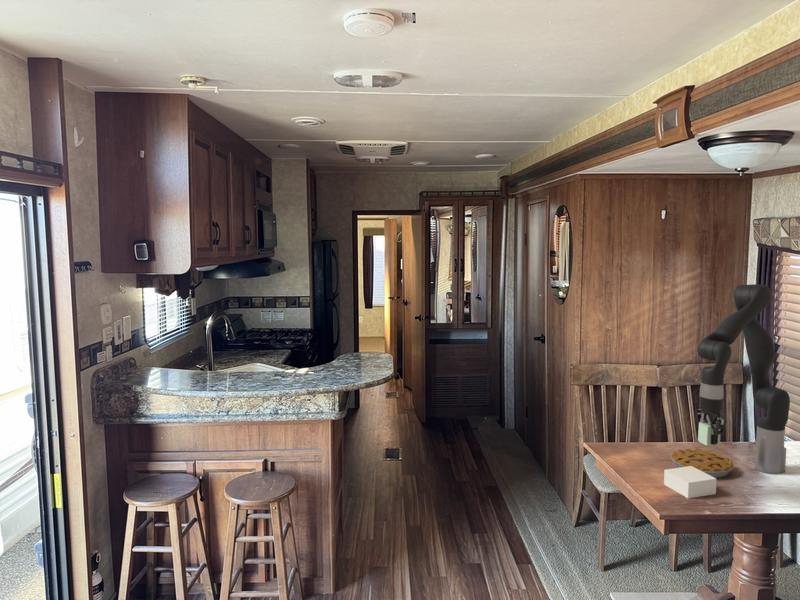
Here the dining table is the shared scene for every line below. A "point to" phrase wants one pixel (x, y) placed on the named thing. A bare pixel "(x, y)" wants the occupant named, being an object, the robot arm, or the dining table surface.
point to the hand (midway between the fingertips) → (708, 441)
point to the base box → (690, 482)
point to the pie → (703, 462)
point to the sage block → (706, 434)
